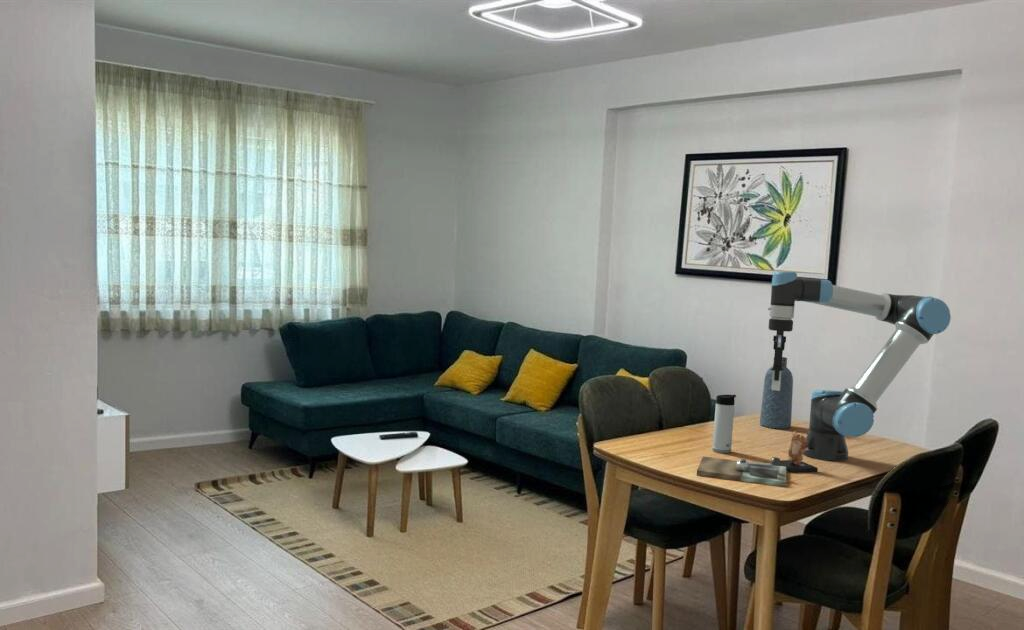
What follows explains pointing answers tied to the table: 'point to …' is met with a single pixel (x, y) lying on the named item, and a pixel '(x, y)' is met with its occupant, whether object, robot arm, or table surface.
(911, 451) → the table surface
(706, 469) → the door board
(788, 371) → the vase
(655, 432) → the table surface
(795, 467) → the figurine
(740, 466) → the bar
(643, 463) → the table surface
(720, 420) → the travel mug
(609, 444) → the table surface
